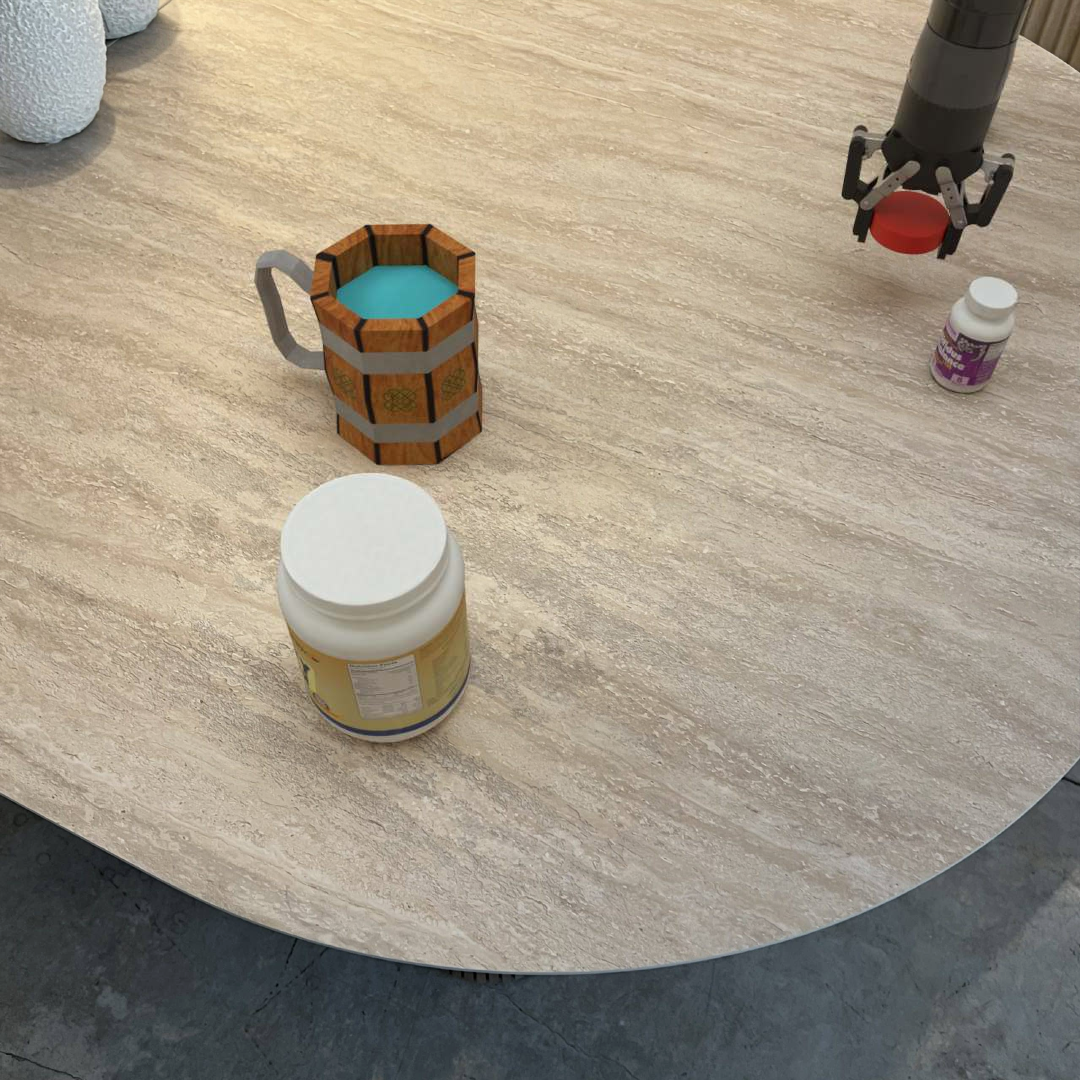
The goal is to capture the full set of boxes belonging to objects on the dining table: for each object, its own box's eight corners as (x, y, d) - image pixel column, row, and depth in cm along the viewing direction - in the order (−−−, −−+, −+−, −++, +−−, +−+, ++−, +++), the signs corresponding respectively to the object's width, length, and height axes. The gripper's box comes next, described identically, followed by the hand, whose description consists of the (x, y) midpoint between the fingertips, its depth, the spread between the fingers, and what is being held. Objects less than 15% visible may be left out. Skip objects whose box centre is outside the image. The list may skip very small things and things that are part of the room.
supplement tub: (298, 621, 87) (256, 476, 73) (456, 592, 89) (442, 445, 75) (316, 765, 80) (273, 634, 66) (487, 730, 81) (479, 596, 68)
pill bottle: (916, 371, 104) (947, 288, 96) (953, 345, 106) (986, 261, 98) (964, 404, 101) (1000, 322, 93) (1001, 377, 103) (1039, 294, 96)
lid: (945, 259, 102) (952, 240, 100) (870, 251, 102) (875, 233, 101) (940, 212, 106) (947, 194, 104) (867, 205, 106) (873, 187, 105)
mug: (511, 379, 103) (508, 243, 91) (450, 487, 95) (439, 354, 83) (315, 324, 107) (288, 188, 95) (242, 424, 99) (203, 288, 87)
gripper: (859, 87, 91) (817, 254, 105) (1044, 121, 89) (977, 288, 102) (872, 39, 96) (830, 206, 109) (1050, 70, 93) (984, 237, 106)
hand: (901, 245), depth 105 cm, fingers closed on lid, 6 cm apart
